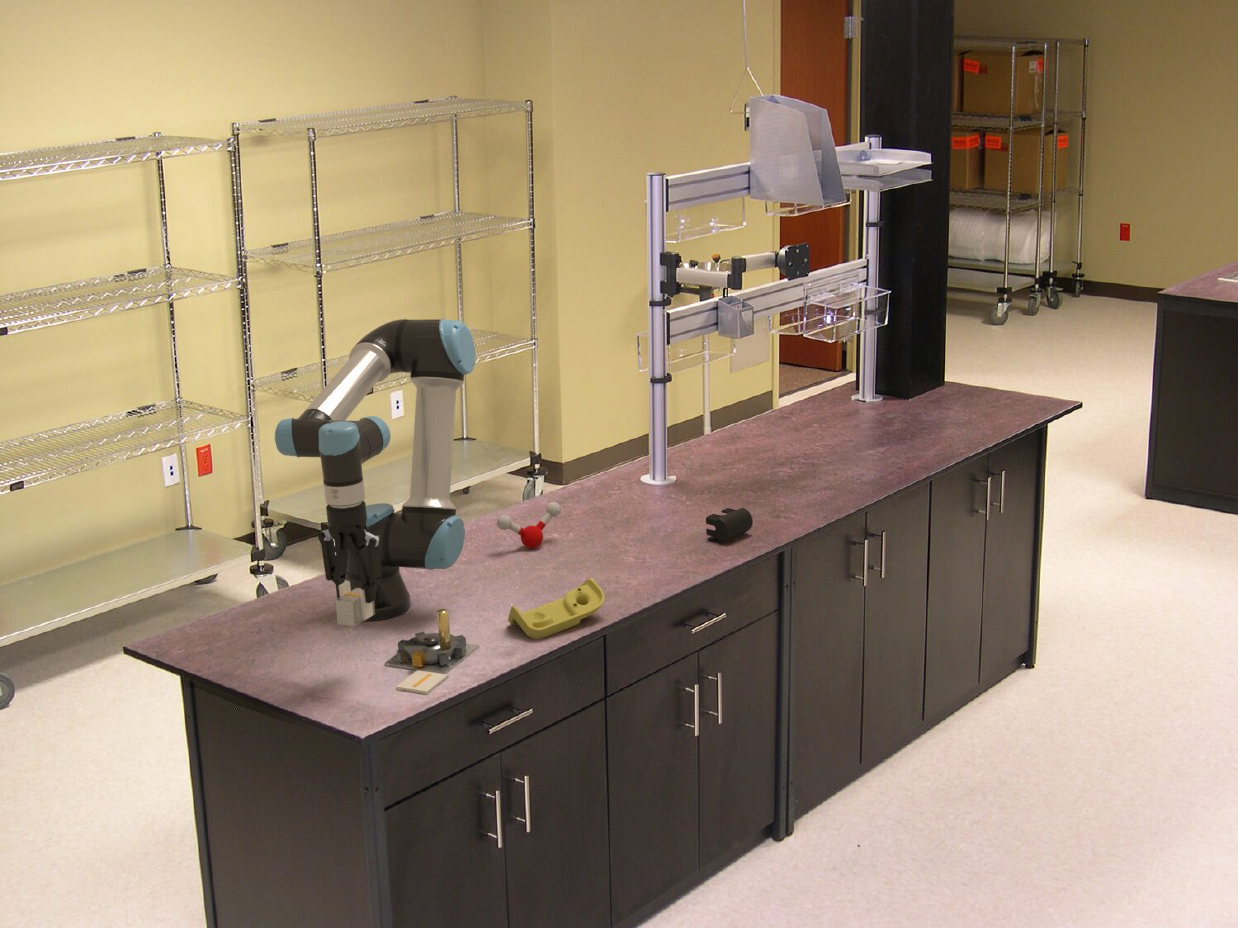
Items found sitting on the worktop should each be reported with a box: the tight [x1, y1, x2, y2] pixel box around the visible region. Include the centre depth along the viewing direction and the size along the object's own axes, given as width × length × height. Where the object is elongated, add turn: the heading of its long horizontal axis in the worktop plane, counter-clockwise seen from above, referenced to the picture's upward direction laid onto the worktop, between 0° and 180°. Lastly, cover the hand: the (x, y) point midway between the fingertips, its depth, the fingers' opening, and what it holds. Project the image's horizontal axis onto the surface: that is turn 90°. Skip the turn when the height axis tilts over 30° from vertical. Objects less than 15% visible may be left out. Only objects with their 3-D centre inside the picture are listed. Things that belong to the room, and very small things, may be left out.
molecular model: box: [496, 501, 562, 549], centre depth 360 cm, size 18×6×10 cm, turn 131°
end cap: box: [705, 507, 754, 545], centre depth 360 cm, size 10×7×7 cm
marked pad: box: [395, 670, 449, 695], centre depth 288 cm, size 7×8×1 cm
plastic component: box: [507, 577, 606, 640], centre depth 314 cm, size 20×7×10 cm
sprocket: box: [396, 608, 467, 667], centre depth 299 cm, size 14×14×10 cm
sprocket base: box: [384, 642, 480, 674], centre depth 301 cm, size 14×14×1 cm
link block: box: [335, 588, 375, 627], centre depth 289 cm, size 4×7×5 cm, turn 155°
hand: (357, 615), depth 290 cm, fingers closed on link block, 4 cm apart
